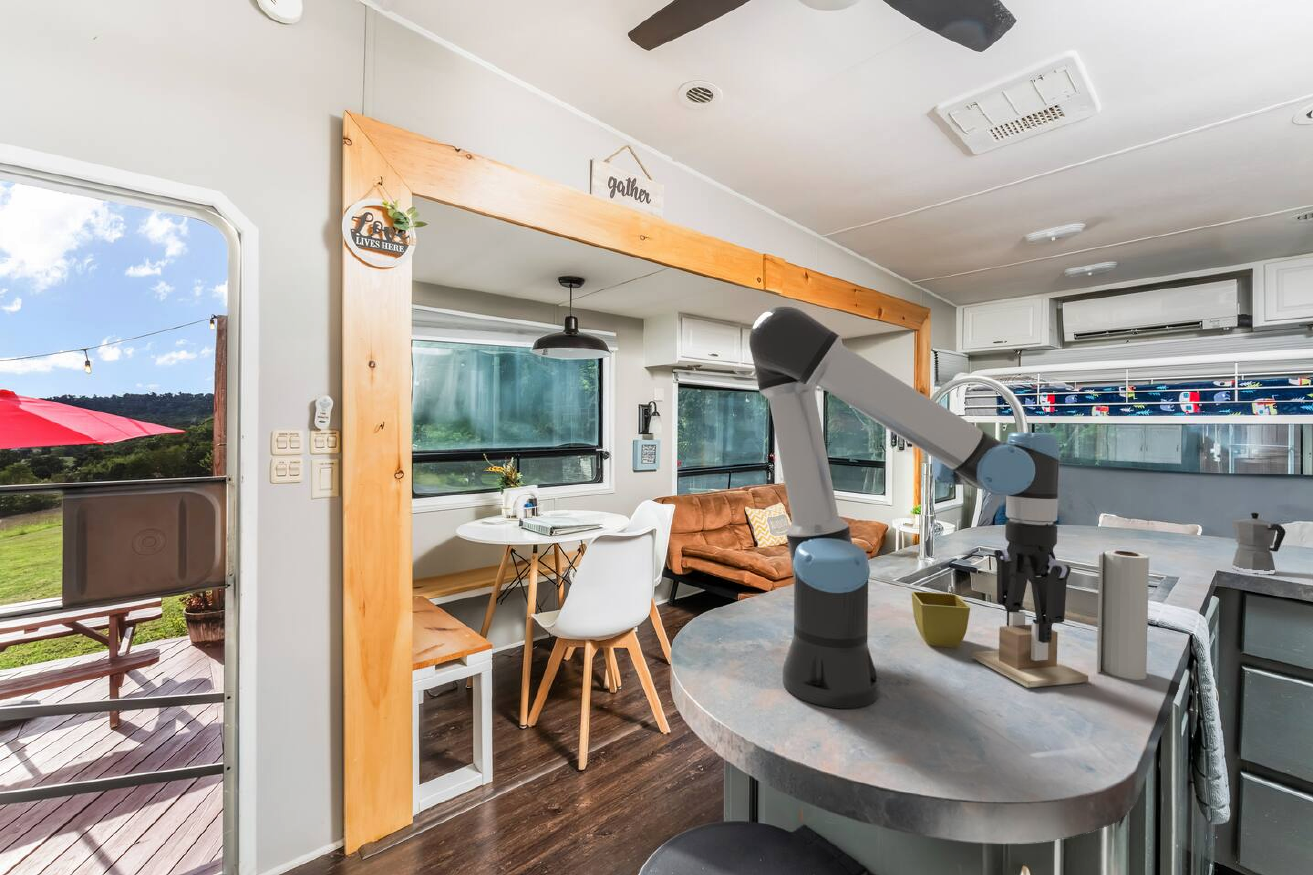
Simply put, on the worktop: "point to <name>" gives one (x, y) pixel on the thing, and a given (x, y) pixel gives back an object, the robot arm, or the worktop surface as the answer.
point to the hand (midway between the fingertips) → (1027, 653)
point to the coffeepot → (1256, 543)
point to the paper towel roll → (1123, 614)
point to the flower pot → (940, 618)
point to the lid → (1027, 660)
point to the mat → (1034, 687)
